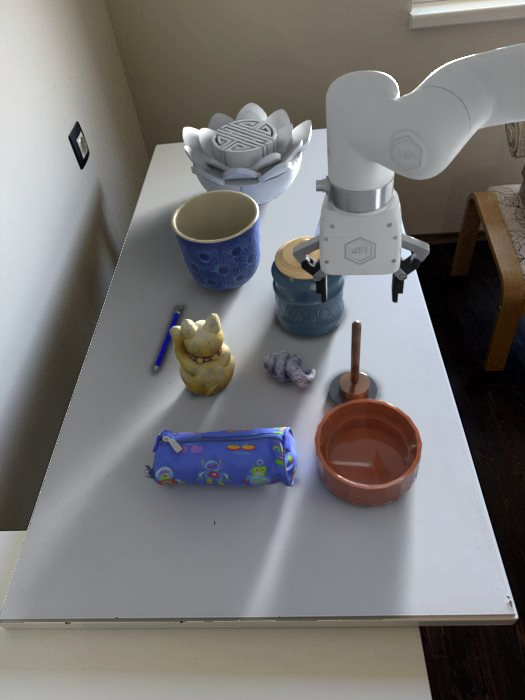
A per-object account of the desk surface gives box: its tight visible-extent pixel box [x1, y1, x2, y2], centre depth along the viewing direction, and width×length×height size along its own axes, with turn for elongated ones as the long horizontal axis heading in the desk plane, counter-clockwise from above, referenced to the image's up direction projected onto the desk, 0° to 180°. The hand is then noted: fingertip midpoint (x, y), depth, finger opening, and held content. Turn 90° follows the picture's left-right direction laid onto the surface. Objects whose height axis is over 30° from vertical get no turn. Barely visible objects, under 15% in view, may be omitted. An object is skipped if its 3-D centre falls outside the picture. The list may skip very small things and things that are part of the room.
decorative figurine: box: [169, 312, 236, 397], centre depth 93 cm, size 10×8×15 cm
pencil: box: [154, 305, 183, 372], centre depth 107 cm, size 17×1×1 cm, turn 170°
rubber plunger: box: [339, 320, 370, 401], centre depth 88 cm, size 5×5×16 cm
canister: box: [270, 236, 345, 338], centre depth 101 cm, size 13×13×18 cm
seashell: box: [261, 351, 316, 388], centre depth 96 cm, size 5×5×10 cm
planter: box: [170, 190, 261, 292], centre depth 112 cm, size 17×17×15 cm
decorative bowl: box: [182, 102, 312, 205], centre depth 132 cm, size 30×30×15 cm
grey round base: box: [329, 371, 378, 406], centre depth 94 cm, size 8×8×1 cm
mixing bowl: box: [314, 399, 423, 507], centre depth 83 cm, size 15×15×6 cm
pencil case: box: [144, 426, 298, 487], centre depth 83 cm, size 22×9×10 cm, turn 87°
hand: (359, 295), depth 78 cm, fingers open, 9 cm apart
